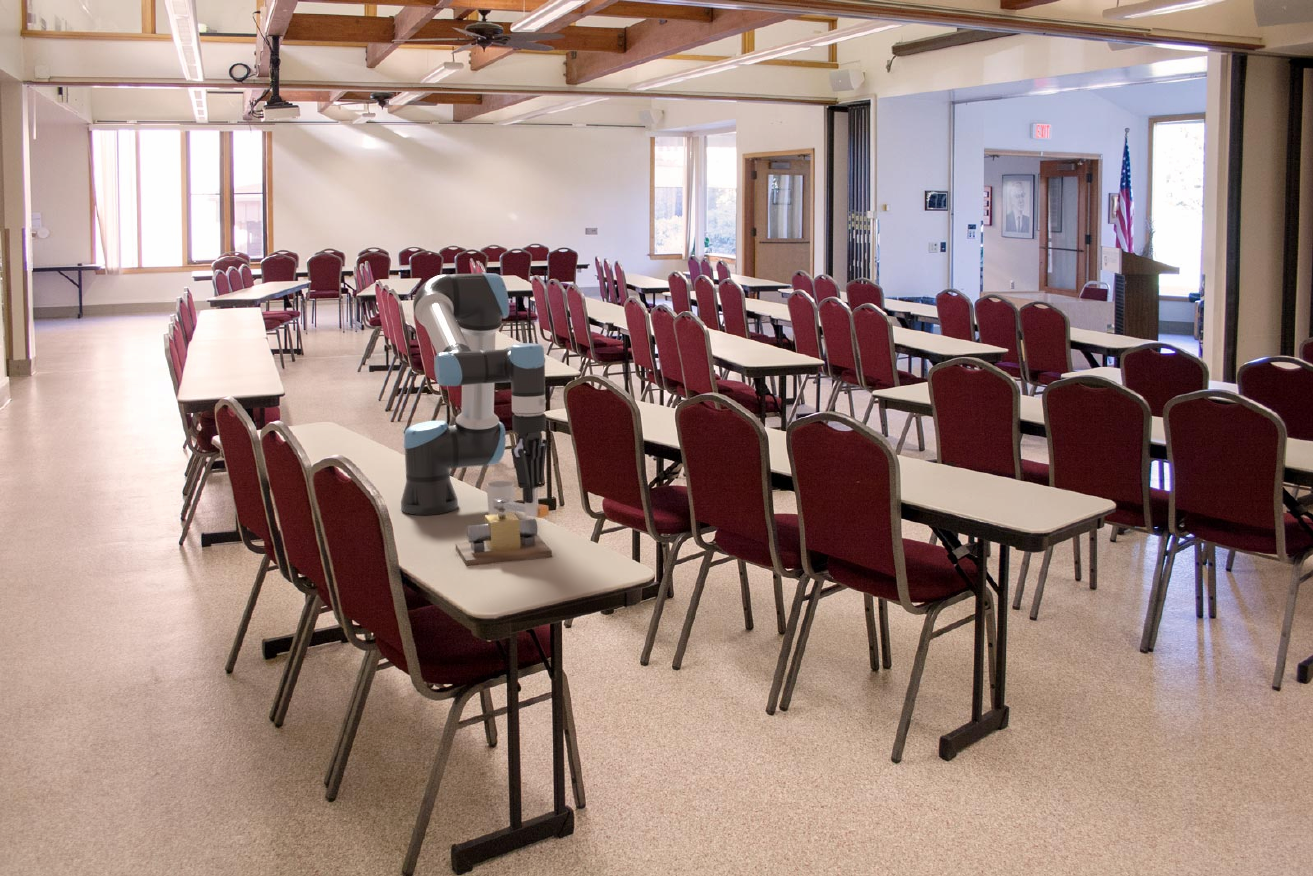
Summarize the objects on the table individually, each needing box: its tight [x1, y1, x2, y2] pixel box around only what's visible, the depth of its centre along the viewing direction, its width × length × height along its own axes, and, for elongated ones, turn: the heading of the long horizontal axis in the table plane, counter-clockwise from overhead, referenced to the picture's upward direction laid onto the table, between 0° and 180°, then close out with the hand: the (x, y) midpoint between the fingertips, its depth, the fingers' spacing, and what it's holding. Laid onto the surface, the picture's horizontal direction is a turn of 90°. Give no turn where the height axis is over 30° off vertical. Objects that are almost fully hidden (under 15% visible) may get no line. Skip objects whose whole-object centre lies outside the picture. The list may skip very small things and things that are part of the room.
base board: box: [454, 534, 553, 567], centre depth 266 cm, size 14×20×2 cm
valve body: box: [466, 509, 538, 553], centre depth 265 cm, size 7×16×9 cm, turn 110°
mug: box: [486, 480, 515, 515], centre depth 286 cm, size 10×7×12 cm, turn 19°
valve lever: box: [493, 498, 549, 519], centre depth 261 cm, size 15×4×2 cm, turn 56°
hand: (531, 515), depth 256 cm, fingers closed
